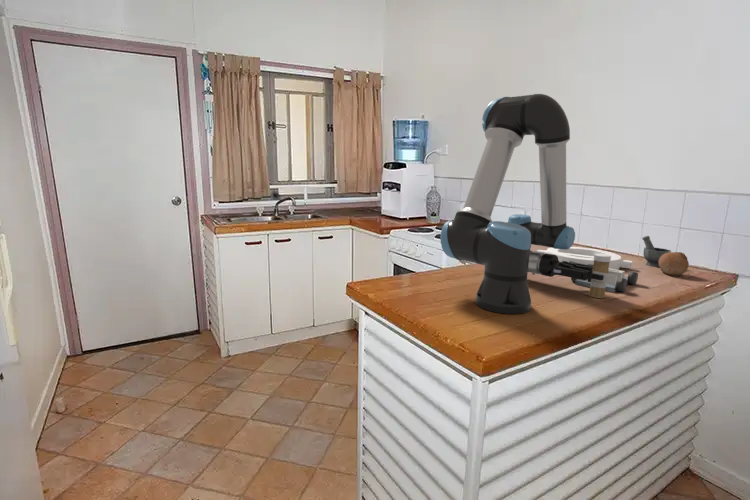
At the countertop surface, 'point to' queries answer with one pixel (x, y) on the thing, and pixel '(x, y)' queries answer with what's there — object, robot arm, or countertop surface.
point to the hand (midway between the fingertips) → (618, 278)
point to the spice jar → (599, 266)
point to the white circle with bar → (586, 256)
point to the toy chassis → (611, 287)
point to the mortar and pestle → (652, 252)
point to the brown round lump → (673, 263)
